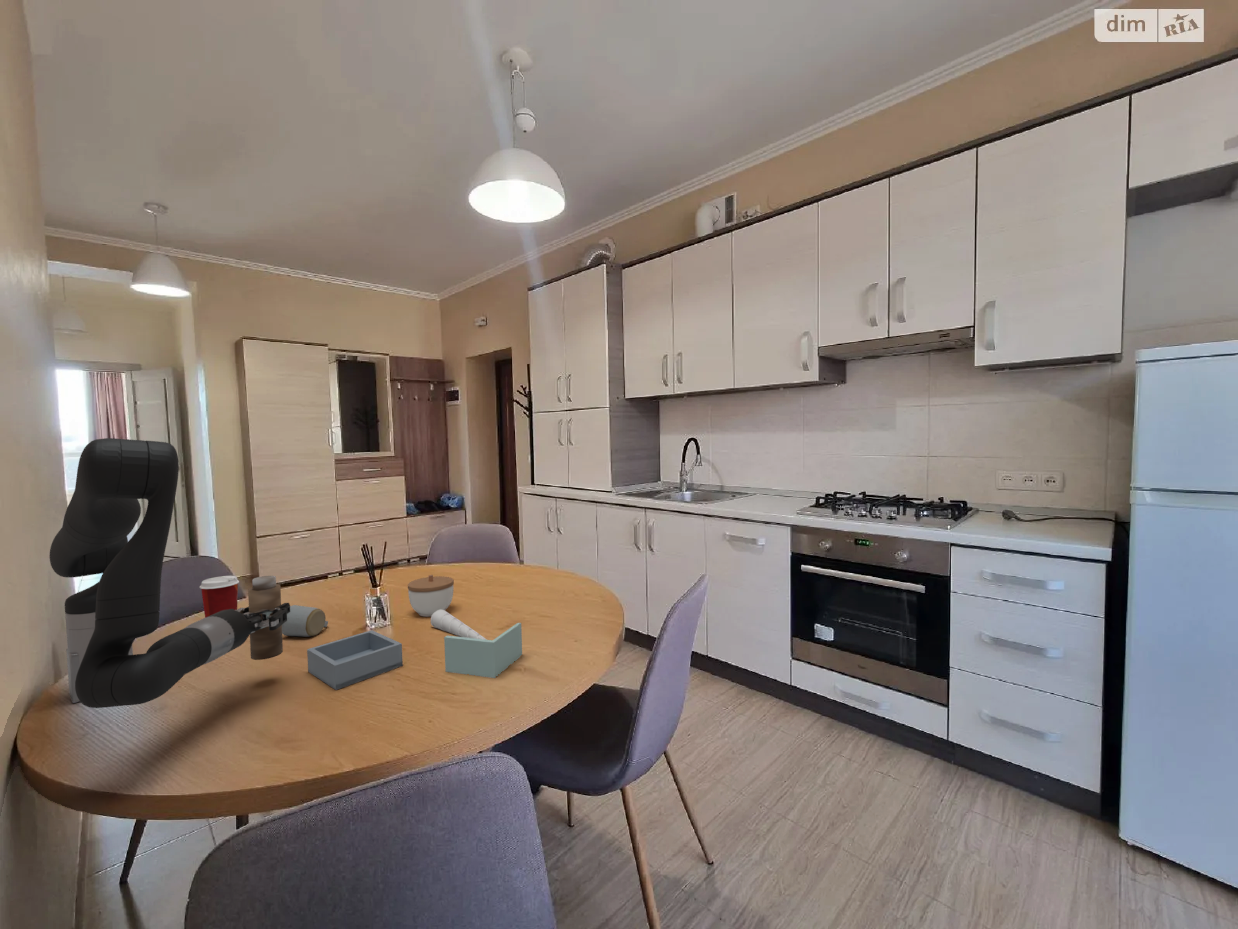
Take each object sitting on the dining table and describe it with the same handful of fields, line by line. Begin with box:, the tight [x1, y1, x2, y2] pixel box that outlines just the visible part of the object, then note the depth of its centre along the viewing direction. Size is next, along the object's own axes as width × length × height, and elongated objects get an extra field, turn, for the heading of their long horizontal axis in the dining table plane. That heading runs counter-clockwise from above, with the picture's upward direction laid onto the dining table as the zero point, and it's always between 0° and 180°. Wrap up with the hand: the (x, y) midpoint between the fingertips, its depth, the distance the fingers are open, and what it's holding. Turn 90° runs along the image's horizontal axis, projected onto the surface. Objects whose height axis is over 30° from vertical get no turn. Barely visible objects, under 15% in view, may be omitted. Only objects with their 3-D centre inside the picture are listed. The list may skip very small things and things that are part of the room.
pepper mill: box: [247, 575, 284, 661], centre depth 107 cm, size 6×6×16 cm
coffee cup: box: [199, 575, 240, 618], centre depth 135 cm, size 8×8×15 cm
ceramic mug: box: [282, 604, 329, 638], centre depth 136 cm, size 11×8×8 cm
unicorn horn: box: [430, 609, 488, 640], centre depth 131 cm, size 5×24×5 cm, turn 47°
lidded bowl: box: [407, 574, 454, 618], centre depth 150 cm, size 13×13×11 cm
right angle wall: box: [443, 622, 523, 679], centre depth 114 cm, size 12×12×8 cm
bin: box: [306, 629, 404, 691], centre depth 113 cm, size 14×14×5 cm
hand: (273, 607), depth 109 cm, fingers closed on pepper mill, 5 cm apart
